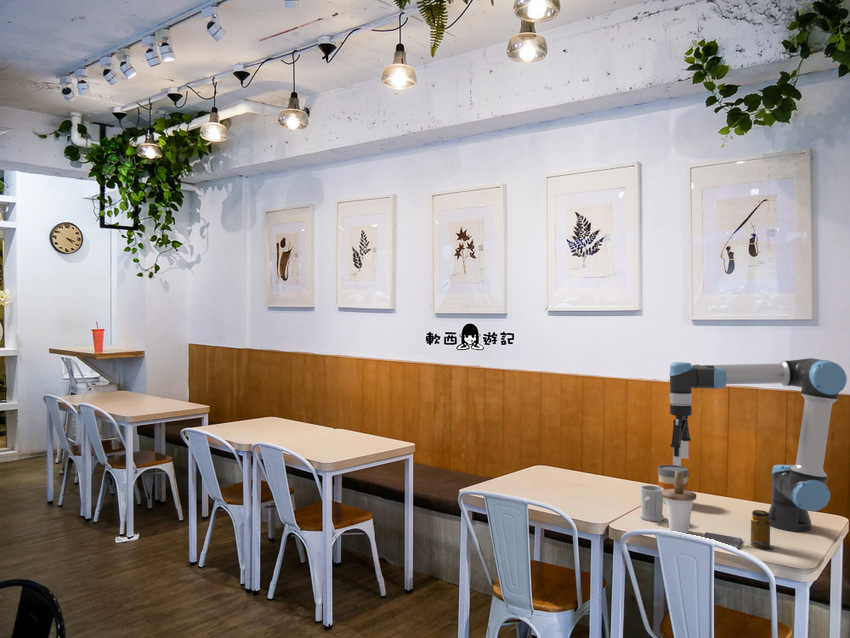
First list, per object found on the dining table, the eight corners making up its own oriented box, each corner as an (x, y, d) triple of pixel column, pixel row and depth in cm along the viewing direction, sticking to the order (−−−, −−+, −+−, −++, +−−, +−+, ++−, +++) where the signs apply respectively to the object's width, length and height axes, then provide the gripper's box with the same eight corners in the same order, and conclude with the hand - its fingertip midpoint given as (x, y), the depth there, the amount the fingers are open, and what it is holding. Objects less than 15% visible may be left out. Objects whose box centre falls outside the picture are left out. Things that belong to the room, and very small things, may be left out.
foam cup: (694, 536, 244) (695, 500, 244) (667, 534, 246) (668, 499, 245) (689, 528, 253) (690, 493, 253) (663, 526, 255) (664, 492, 255)
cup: (668, 523, 259) (668, 492, 259) (644, 523, 259) (645, 492, 259) (658, 515, 269) (659, 485, 269) (636, 514, 269) (636, 485, 269)
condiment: (753, 541, 239) (753, 507, 239) (779, 547, 233) (779, 512, 233) (746, 546, 234) (746, 512, 234) (772, 552, 228) (773, 517, 228)
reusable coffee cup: (682, 499, 293) (683, 464, 293) (692, 507, 280) (693, 471, 280) (653, 498, 293) (653, 464, 293) (662, 507, 281) (662, 471, 281)
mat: (741, 540, 240) (741, 538, 240) (737, 550, 230) (737, 548, 230) (705, 534, 246) (705, 532, 246) (699, 543, 236) (699, 541, 236)
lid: (698, 495, 251) (699, 471, 251) (693, 502, 241) (693, 477, 241) (665, 490, 257) (665, 466, 257) (658, 497, 247) (658, 473, 247)
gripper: (677, 399, 261) (677, 454, 262) (662, 407, 240) (662, 467, 240) (697, 401, 257) (697, 456, 258) (684, 409, 236) (684, 469, 236)
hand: (680, 461), depth 249 cm, fingers open, 13 cm apart
